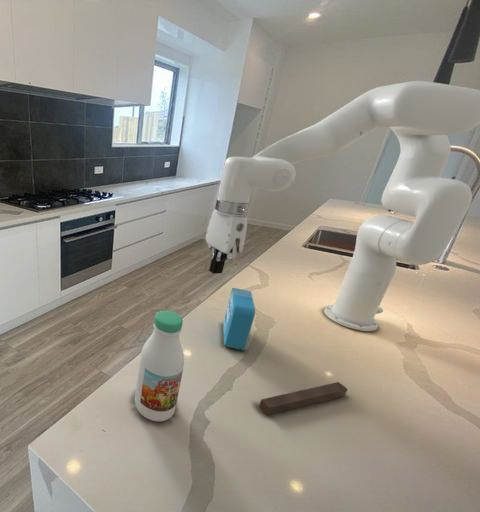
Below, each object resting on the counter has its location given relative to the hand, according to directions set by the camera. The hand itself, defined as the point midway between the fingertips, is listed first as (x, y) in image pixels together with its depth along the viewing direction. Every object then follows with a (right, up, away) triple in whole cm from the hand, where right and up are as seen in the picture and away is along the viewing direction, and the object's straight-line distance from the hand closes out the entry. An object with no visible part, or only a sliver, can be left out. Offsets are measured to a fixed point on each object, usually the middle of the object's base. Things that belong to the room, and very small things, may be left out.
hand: (215, 272), depth 83 cm
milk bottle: (-22, -24, -26) cm, 42 cm away
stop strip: (+8, -25, -23) cm, 35 cm away
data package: (+3, -17, -4) cm, 18 cm away
